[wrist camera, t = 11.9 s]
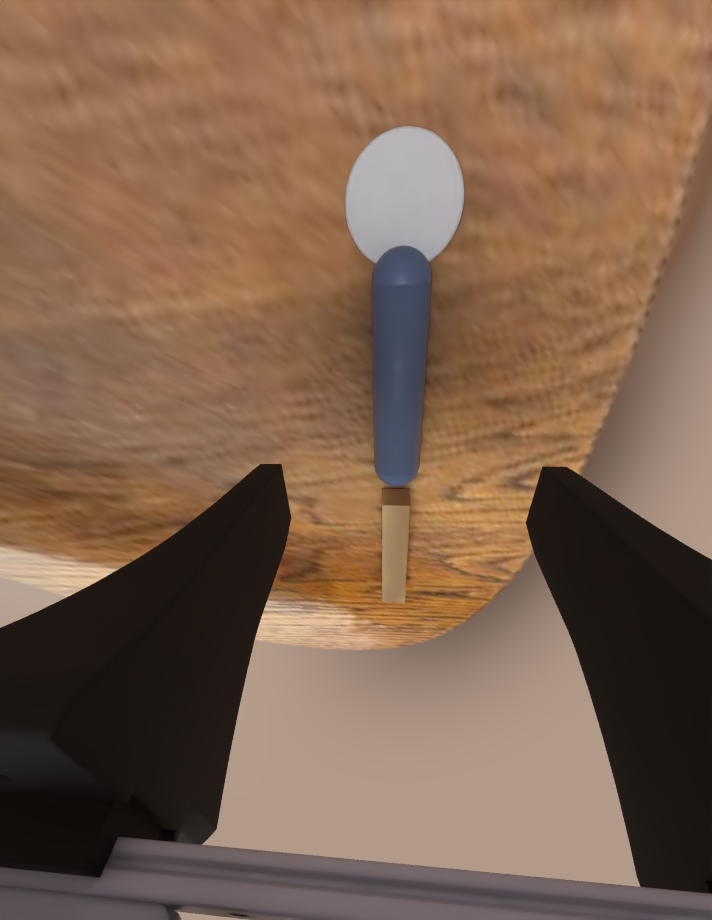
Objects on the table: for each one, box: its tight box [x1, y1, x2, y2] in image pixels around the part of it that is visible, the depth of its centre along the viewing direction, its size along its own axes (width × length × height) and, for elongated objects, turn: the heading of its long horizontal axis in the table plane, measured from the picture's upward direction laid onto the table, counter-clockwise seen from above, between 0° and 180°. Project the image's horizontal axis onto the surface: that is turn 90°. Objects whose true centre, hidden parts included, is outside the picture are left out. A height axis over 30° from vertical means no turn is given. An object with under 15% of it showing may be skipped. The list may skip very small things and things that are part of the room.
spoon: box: [345, 126, 464, 486], centre depth 16 cm, size 15×4×2 cm, turn 2°
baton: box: [382, 488, 410, 603], centre depth 24 cm, size 2×9×2 cm, turn 2°
